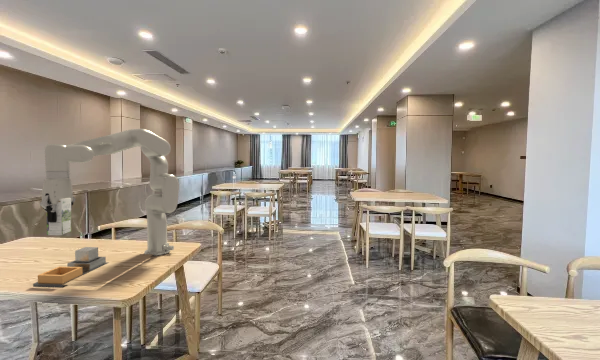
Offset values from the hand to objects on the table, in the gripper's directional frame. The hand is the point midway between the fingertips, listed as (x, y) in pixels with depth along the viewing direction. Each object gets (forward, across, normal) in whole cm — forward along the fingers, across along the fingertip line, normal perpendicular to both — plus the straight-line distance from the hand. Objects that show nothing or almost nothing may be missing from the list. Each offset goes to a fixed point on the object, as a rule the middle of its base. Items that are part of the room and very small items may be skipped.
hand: (59, 220), depth 120 cm
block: (+24, -14, 0) cm, 28 cm away
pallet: (+25, -7, 0) cm, 26 cm away
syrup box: (+6, 0, 0) cm, 6 cm away
